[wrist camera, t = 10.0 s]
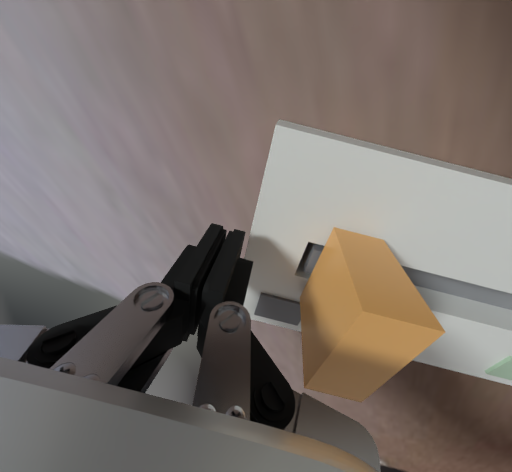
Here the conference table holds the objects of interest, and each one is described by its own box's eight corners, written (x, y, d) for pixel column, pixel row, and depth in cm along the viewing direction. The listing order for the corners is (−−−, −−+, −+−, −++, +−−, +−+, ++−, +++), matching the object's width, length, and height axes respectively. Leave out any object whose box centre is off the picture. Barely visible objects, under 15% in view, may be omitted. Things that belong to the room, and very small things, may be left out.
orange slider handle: (374, 219, 12) (455, 334, 6) (337, 282, 15) (368, 404, 9) (321, 206, 12) (352, 308, 6) (294, 271, 15) (297, 386, 9)
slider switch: (697, 226, 11) (830, 267, 8) (502, 350, 17) (540, 395, 15) (279, 119, 11) (275, 125, 8) (239, 283, 17) (230, 316, 15)
